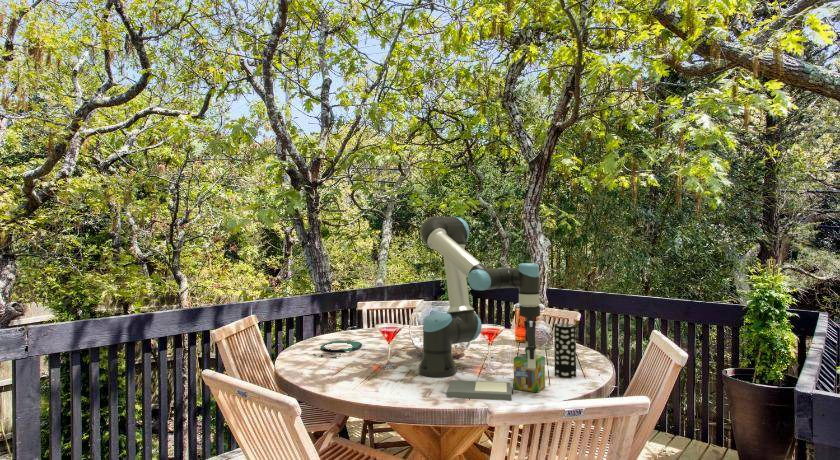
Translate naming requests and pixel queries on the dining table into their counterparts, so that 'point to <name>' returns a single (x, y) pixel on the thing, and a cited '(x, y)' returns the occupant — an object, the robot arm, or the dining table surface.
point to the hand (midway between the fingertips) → (530, 363)
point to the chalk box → (529, 373)
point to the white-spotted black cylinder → (565, 350)
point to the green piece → (353, 343)
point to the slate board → (480, 390)
